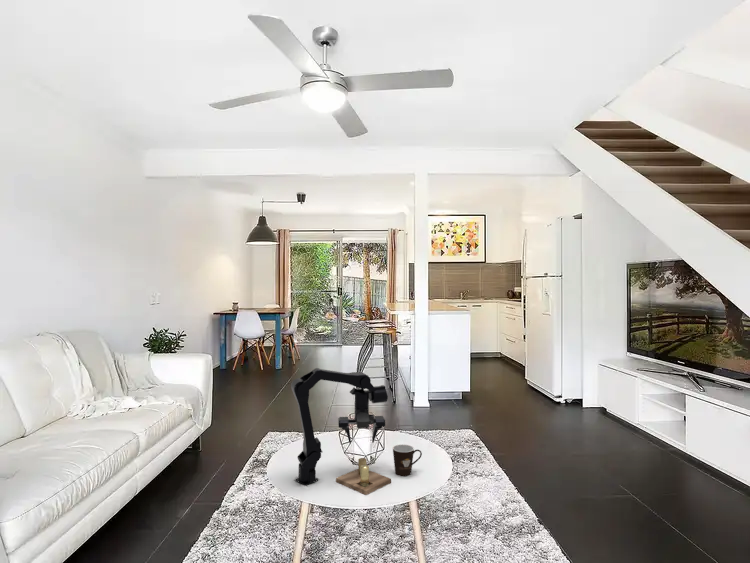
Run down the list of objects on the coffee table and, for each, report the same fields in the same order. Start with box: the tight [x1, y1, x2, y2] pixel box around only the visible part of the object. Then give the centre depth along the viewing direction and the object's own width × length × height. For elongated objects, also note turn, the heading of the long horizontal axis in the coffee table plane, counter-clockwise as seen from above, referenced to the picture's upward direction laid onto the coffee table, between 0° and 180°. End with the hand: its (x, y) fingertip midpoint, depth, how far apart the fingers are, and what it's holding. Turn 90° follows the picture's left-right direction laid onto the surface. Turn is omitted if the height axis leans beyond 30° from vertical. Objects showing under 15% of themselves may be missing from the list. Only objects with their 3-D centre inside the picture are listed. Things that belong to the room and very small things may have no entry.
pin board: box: [335, 457, 392, 496], centre depth 178 cm, size 16×14×7 cm
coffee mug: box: [392, 444, 423, 477], centre depth 186 cm, size 12×9×10 cm
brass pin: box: [360, 464, 370, 487], centre depth 173 cm, size 3×3×8 cm
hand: (361, 442), depth 187 cm, fingers open, 9 cm apart
